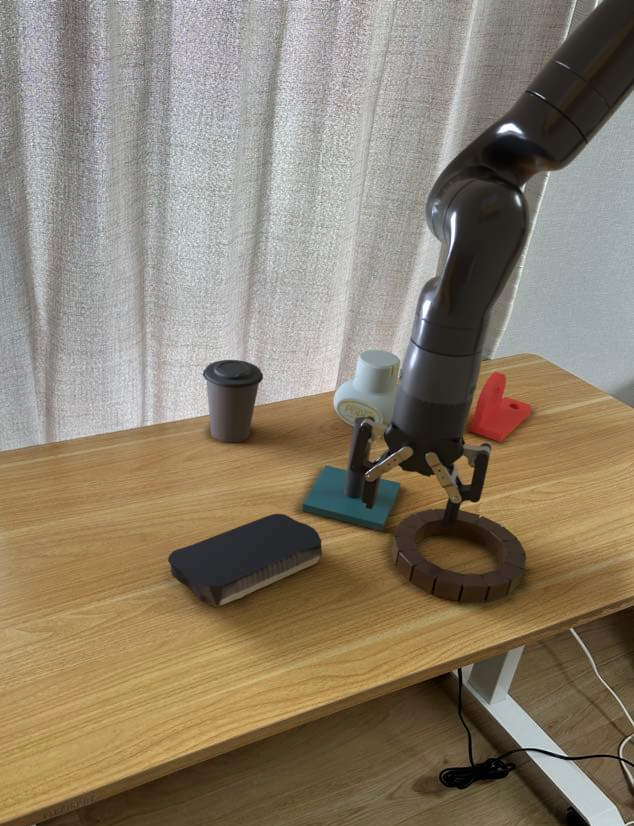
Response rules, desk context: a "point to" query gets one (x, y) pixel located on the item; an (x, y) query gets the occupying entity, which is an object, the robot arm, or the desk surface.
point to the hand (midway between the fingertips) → (407, 515)
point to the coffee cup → (231, 398)
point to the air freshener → (370, 388)
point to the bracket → (497, 410)
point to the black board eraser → (246, 558)
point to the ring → (450, 581)
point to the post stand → (350, 494)
